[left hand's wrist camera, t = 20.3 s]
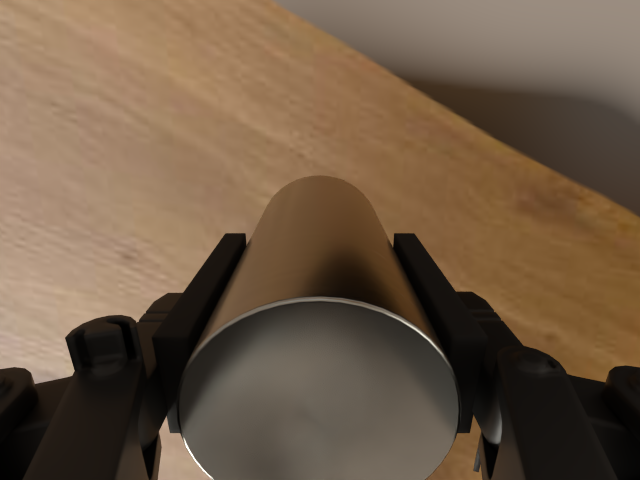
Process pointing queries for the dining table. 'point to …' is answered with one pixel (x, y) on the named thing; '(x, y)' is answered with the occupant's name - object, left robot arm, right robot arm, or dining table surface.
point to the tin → (318, 354)
